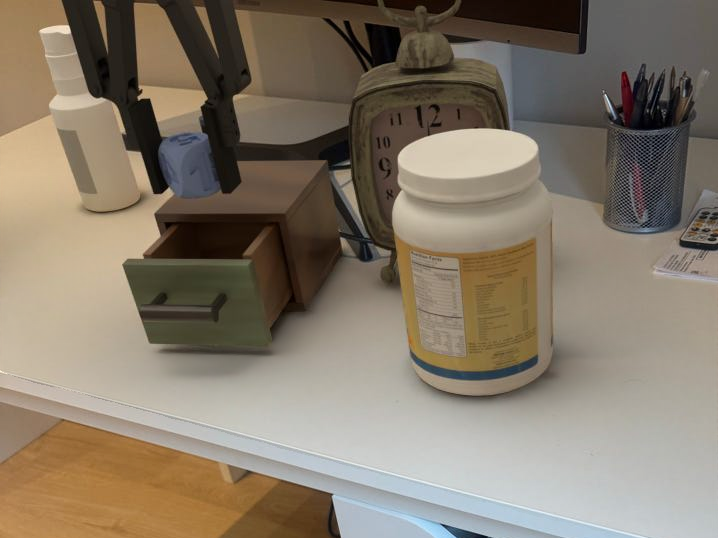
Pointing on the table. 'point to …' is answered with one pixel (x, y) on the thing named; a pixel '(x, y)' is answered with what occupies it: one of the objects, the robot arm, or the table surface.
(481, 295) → the supplement tub
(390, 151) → the tabletop clock
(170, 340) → the drawer
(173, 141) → the decorative dice
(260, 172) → the cabinet
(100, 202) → the spray bottle
